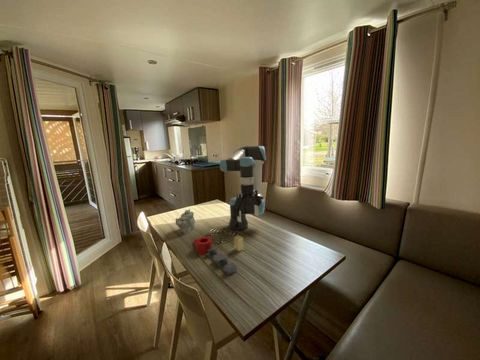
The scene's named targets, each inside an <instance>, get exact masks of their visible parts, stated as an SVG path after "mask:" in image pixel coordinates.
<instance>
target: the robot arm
mask: <svg viewBox="0 0 480 360" xmlns="http://www.w3.org/2000/svg"><path fill="white" fill-rule="evenodd" d="M265 161H267V157H266V149H265V146H263V145H251V146H242V147H240V148H237V149H235V150H234V152H233V153H232V154H231V156H229V157H228V158H227V159H221V160H220V161H219V169H220V171H221V172H227V173H228V172H240V173H239V175H240V176H239V177H240V191H241V193H236V196H235V197H232V198H230V200H229V213H230V214H229V215H230V219H229V220H228V221H229V223H228V228H229V229H230V230H233V231H243V230H246V229H247V228H249V222H248V219H247V217H246V215H254V216H256V217H259V216H261V215H264V212H265V207H266V199H265V198H264V195H263V194H262V191H263V190H262V186H263V184H262V182H263V164H264V163H265Z"/></svg>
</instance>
